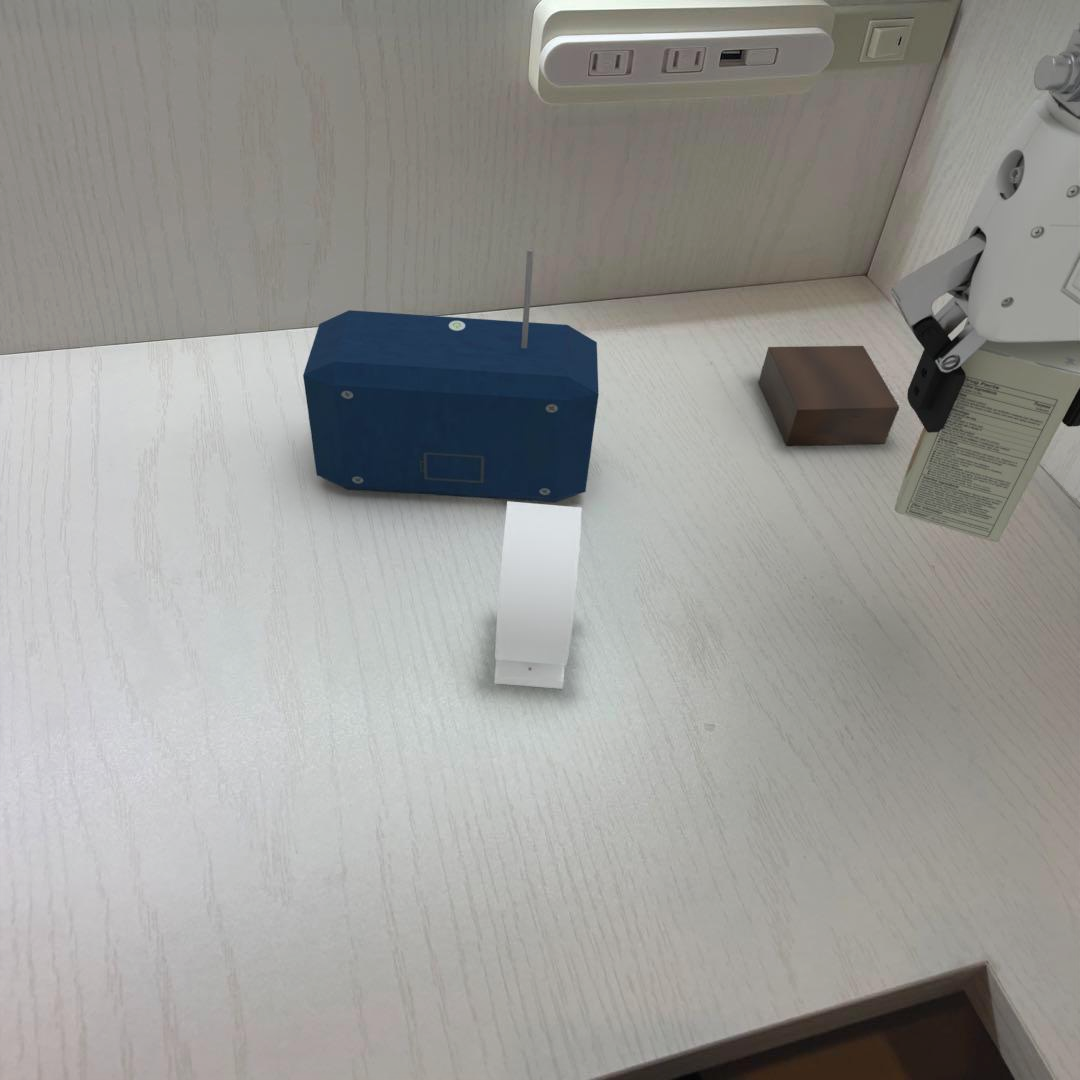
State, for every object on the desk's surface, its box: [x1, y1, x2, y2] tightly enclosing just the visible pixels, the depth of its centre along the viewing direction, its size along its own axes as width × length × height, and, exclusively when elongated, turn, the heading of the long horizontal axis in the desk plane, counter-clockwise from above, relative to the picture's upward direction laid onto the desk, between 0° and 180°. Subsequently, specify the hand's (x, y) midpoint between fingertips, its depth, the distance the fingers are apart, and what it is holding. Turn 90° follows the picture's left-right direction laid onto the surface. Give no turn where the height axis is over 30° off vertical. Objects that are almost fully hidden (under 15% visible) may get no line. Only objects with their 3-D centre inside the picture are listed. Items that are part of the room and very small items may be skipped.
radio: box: [302, 249, 599, 503], centre depth 72 cm, size 21×9×20 cm, turn 89°
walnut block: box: [758, 345, 900, 447], centre depth 86 cm, size 9×9×4 cm
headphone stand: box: [493, 500, 583, 690], centre depth 61 cm, size 5×6×12 cm
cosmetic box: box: [894, 318, 1080, 543], centre depth 54 cm, size 6×4×12 cm
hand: (992, 411), depth 54 cm, fingers closed on cosmetic box, 7 cm apart
